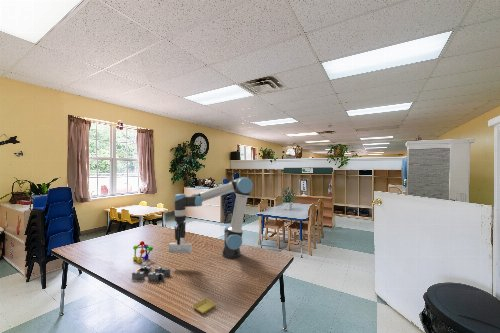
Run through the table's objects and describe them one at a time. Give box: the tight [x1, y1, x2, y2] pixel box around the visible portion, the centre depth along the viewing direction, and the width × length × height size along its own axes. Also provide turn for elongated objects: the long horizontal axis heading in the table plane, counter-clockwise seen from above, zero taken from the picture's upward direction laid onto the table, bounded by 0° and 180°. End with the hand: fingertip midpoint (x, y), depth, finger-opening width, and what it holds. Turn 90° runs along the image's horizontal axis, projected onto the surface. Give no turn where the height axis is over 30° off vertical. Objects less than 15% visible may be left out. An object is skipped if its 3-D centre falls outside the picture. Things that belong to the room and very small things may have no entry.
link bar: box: [168, 242, 193, 254], centre depth 159 cm, size 16×4×6 cm, turn 81°
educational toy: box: [132, 240, 154, 264], centre depth 170 cm, size 16×13×15 cm
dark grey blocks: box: [131, 265, 171, 282], centre depth 143 cm, size 21×10×5 cm, turn 81°
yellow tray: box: [192, 297, 217, 315], centre depth 110 cm, size 9×9×2 cm
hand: (180, 247), depth 159 cm, fingers closed on link bar, 4 cm apart
